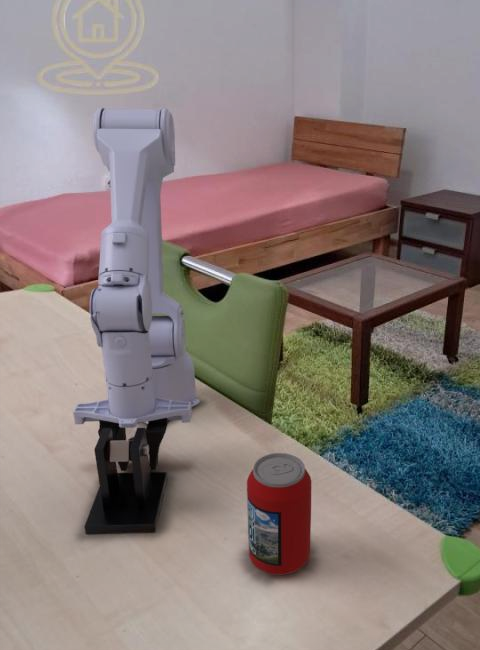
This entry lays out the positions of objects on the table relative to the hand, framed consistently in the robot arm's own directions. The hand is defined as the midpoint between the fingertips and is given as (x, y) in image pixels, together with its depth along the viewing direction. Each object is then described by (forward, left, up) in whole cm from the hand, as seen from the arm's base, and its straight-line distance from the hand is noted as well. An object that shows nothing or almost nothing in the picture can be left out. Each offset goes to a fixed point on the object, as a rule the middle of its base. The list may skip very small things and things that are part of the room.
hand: (139, 466), depth 84 cm
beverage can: (+1, +25, -1) cm, 25 cm away
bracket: (+6, +5, 0) cm, 7 cm away
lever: (+4, +3, +4) cm, 6 cm away
